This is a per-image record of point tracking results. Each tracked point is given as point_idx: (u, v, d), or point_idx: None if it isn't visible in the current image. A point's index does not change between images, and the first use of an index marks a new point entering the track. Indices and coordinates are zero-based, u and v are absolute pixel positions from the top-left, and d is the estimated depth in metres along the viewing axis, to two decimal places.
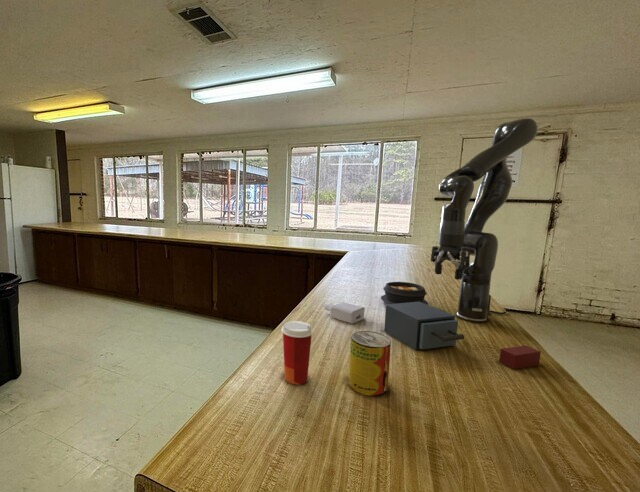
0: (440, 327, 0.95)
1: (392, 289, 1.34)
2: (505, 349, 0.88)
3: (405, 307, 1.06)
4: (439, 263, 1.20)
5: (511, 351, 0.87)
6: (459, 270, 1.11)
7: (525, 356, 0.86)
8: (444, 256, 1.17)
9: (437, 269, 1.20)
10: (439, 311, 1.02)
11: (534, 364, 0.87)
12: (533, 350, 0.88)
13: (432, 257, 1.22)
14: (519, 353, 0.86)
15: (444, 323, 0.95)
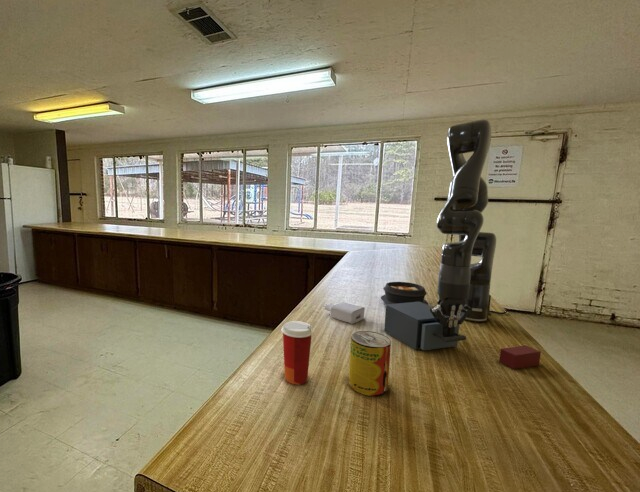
0: (441, 327, 0.95)
1: (392, 289, 1.34)
2: (505, 349, 0.88)
3: (405, 307, 1.06)
4: None
5: (511, 351, 0.87)
6: None
7: (525, 356, 0.86)
8: None
9: None
10: None
11: (534, 364, 0.87)
12: (533, 350, 0.88)
13: None
14: (519, 353, 0.86)
15: None
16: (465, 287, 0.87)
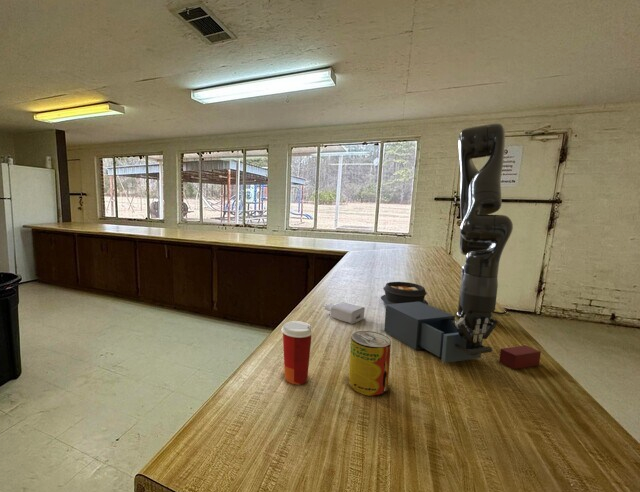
0: None
1: (392, 289, 1.34)
2: (505, 349, 0.88)
3: (405, 307, 1.06)
4: None
5: (511, 351, 0.87)
6: None
7: (525, 356, 0.86)
8: None
9: None
10: (439, 311, 1.02)
11: (534, 364, 0.87)
12: (533, 350, 0.88)
13: None
14: (519, 353, 0.86)
15: None
16: (492, 299, 0.80)
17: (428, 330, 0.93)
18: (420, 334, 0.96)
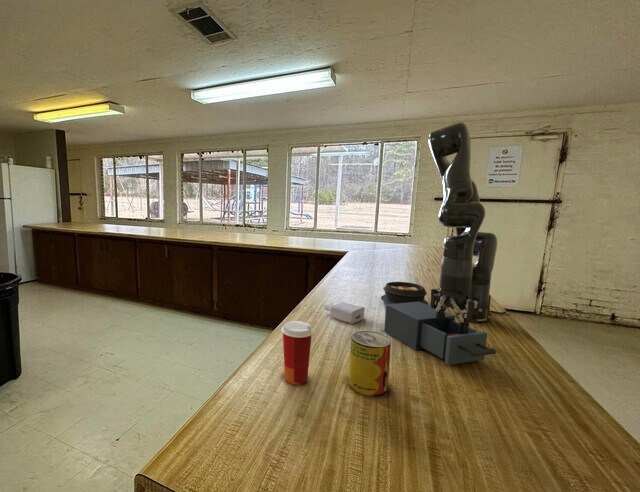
0: (468, 340, 0.86)
1: (392, 289, 1.34)
2: None
3: (405, 307, 1.06)
4: (441, 311, 0.95)
5: None
6: (464, 324, 0.87)
7: None
8: (447, 302, 0.92)
9: (439, 319, 0.95)
10: None
11: None
12: None
13: (432, 303, 0.97)
14: None
15: (472, 336, 0.87)
16: None
17: (431, 331, 0.92)
18: (423, 335, 0.95)
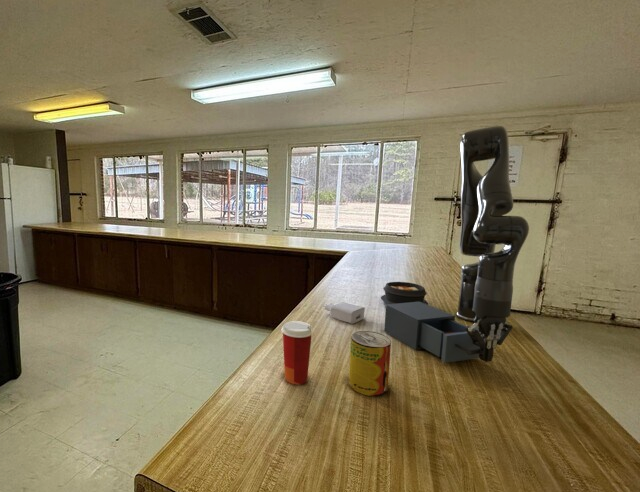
0: (464, 338, 0.87)
1: (392, 289, 1.34)
2: None
3: (405, 307, 1.06)
4: None
5: None
6: (480, 347, 0.82)
7: None
8: None
9: None
10: (439, 311, 1.02)
11: None
12: None
13: None
14: None
15: None
16: (507, 304, 0.76)
17: (428, 330, 0.93)
18: (420, 334, 0.96)
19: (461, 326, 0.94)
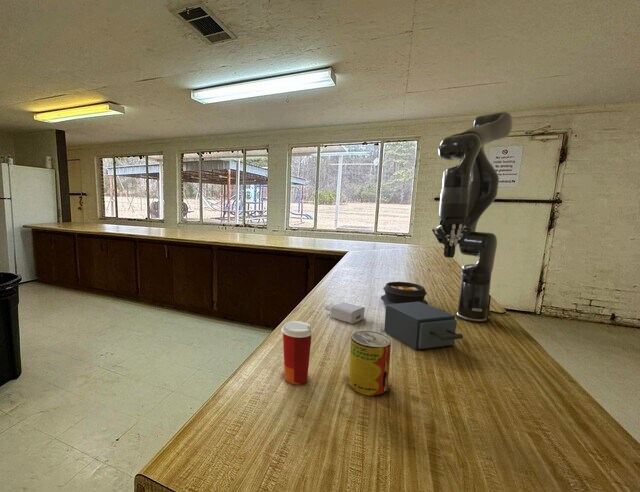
0: (438, 326, 0.96)
1: (392, 289, 1.34)
2: None
3: (405, 307, 1.06)
4: None
5: None
6: None
7: None
8: None
9: None
10: (439, 311, 1.02)
11: None
12: None
13: None
14: None
15: (443, 322, 0.96)
16: (464, 205, 0.95)
17: None
18: None
19: None
